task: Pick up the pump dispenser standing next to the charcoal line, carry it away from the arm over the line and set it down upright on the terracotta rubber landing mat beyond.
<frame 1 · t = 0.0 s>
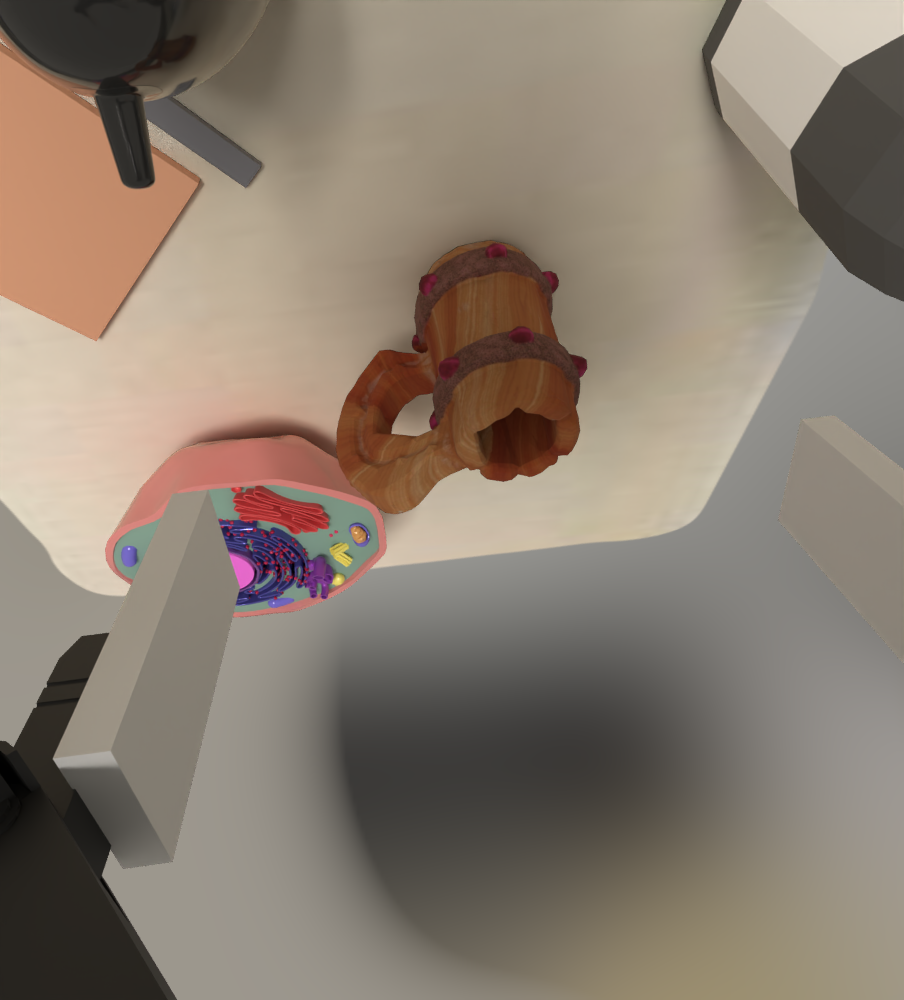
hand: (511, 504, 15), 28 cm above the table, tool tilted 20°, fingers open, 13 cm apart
wine bottle: (778, 34, 34), on the table
cell model: (259, 468, 55), on the table
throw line: (76, 46, 31), on the table
mug: (438, 295, 44), on the table
landing mat: (11, 187, 35), on the table
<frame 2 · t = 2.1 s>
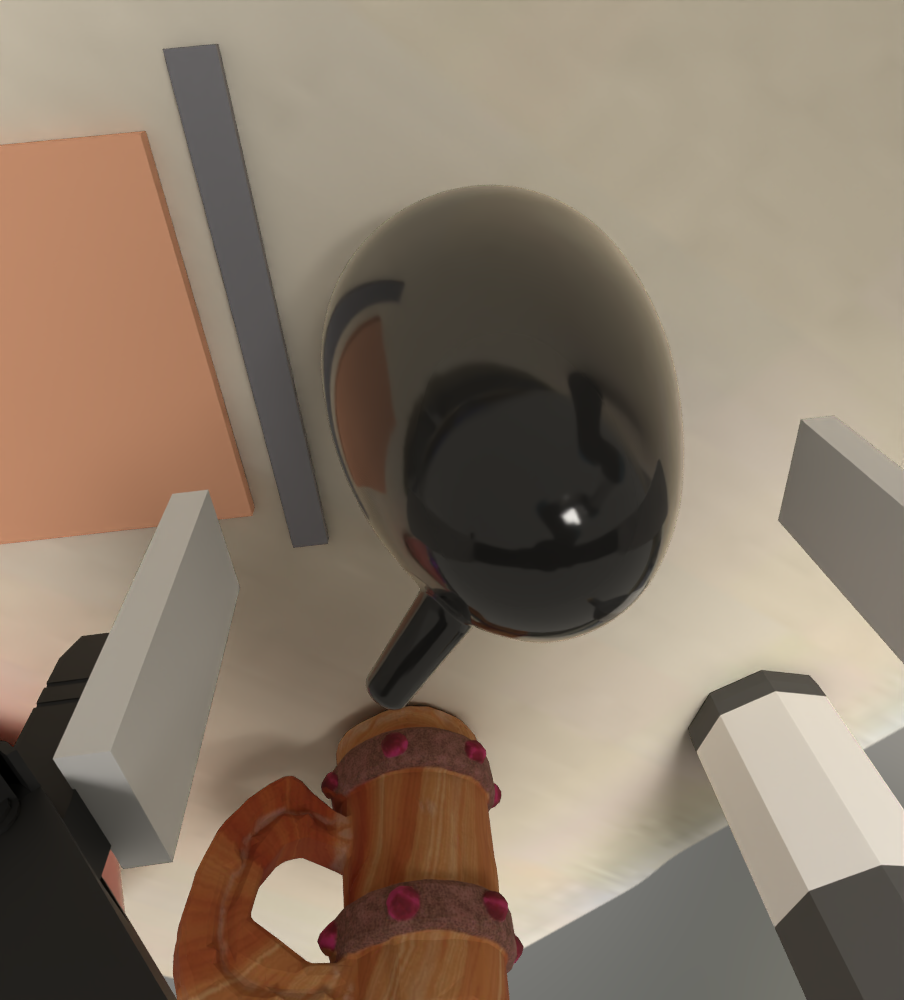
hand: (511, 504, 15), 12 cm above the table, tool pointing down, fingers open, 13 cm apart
wine bottle: (754, 713, 40), on the table
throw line: (263, 343, 25), on the table
mug: (366, 726, 37), on the table
landing mat: (27, 368, 25), on the table
pump dispenser: (468, 319, 25), on the table
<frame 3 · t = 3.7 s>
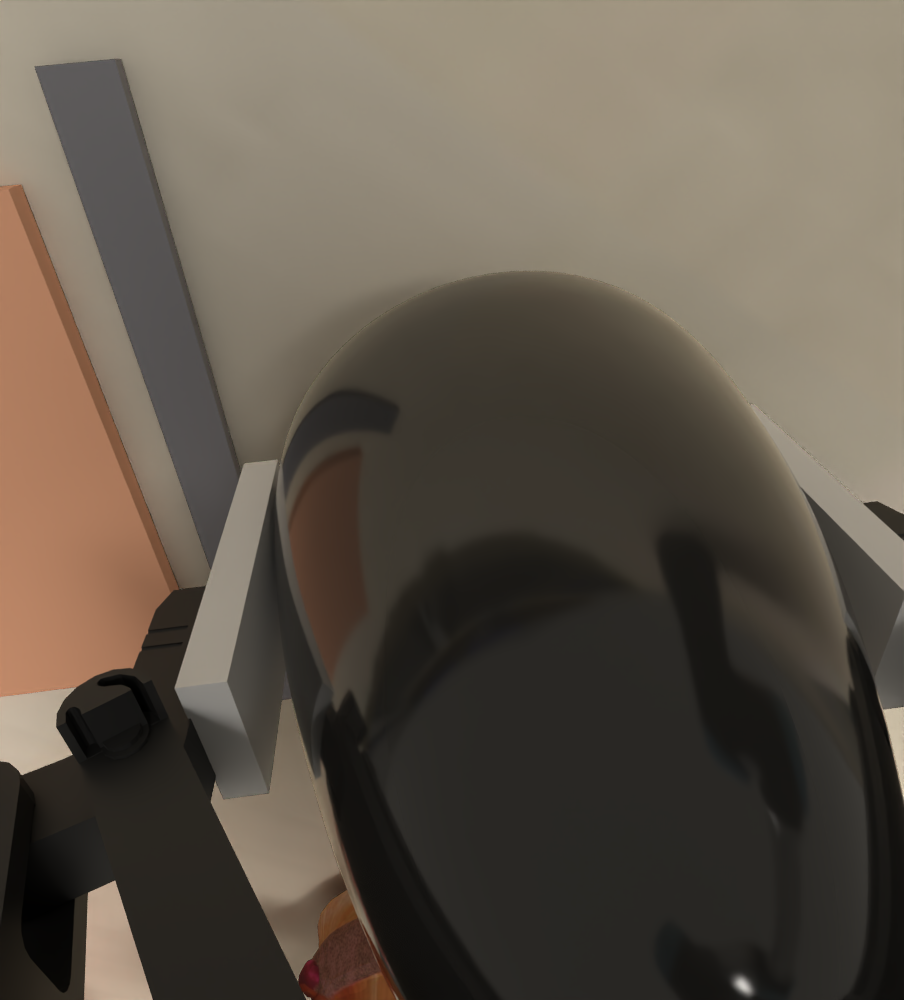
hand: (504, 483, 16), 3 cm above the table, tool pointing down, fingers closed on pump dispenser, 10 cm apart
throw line: (208, 461, 18), on the table
mug: (355, 883, 31), on the table
pump dispenser: (483, 426, 19), on the table, touching gripper
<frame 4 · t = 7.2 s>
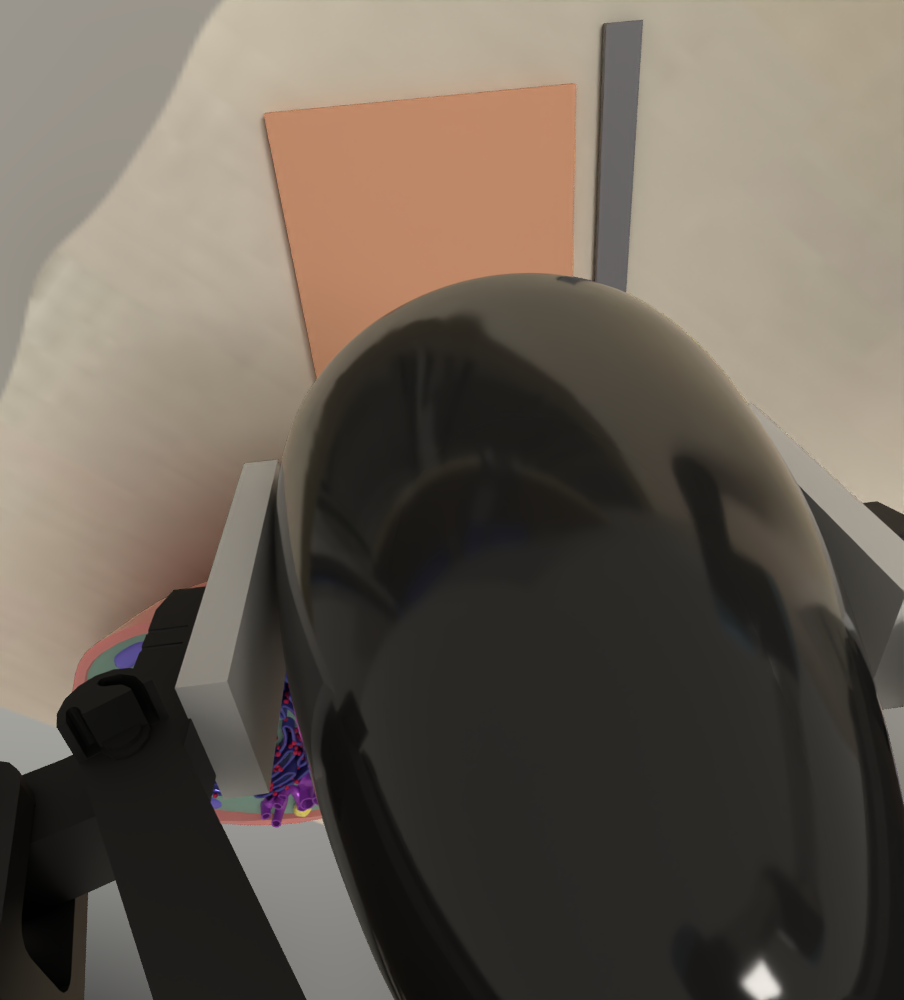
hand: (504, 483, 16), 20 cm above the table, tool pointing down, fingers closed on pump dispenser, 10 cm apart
cell model: (281, 627, 44), on the table
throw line: (610, 248, 33), on the table
landing mat: (435, 267, 33), on the table
pump dispenser: (483, 427, 19), point 17 cm above the table, touching gripper
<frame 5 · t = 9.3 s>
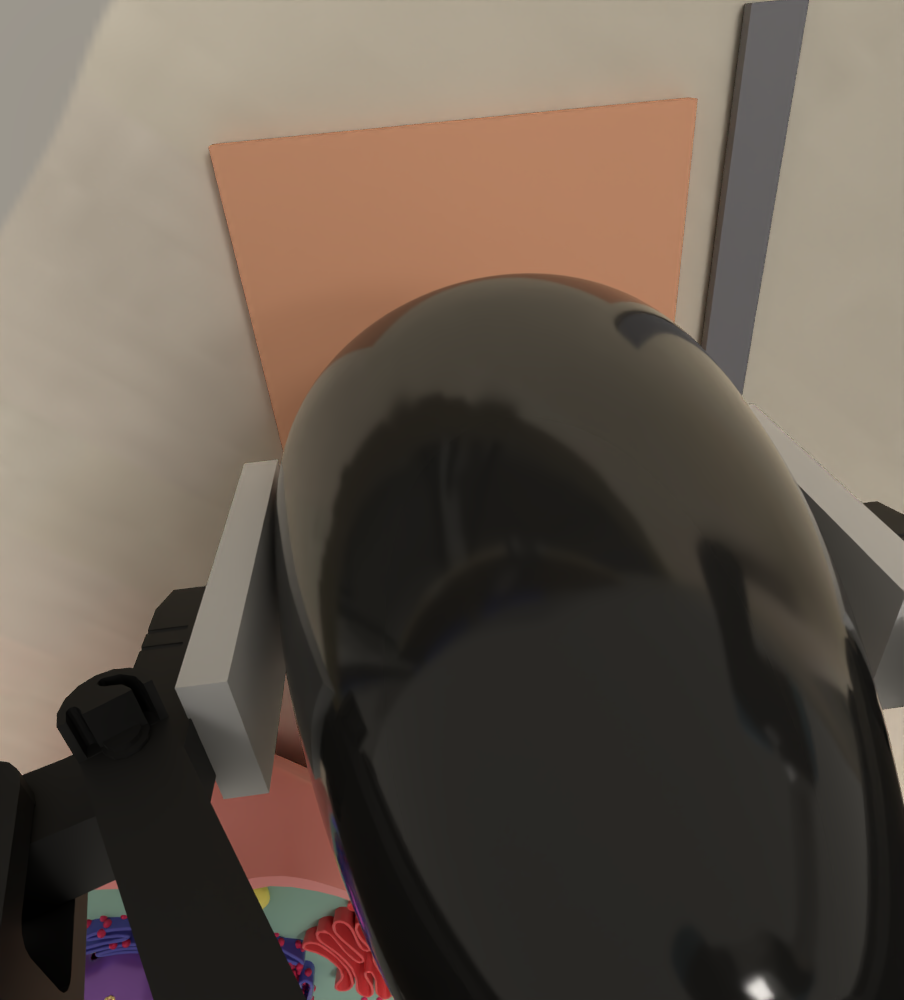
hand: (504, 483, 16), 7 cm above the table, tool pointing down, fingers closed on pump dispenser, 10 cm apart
cell model: (258, 797, 34), on the table
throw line: (724, 335, 23), on the table
landing mat: (470, 363, 22), on the table
pump dispenser: (483, 427, 19), point 4 cm above the table, touching gripper
when the fingers open (5 cm above the table, at t = 10.9 s): pump dispenser drops 1 cm, resting on landing mat.
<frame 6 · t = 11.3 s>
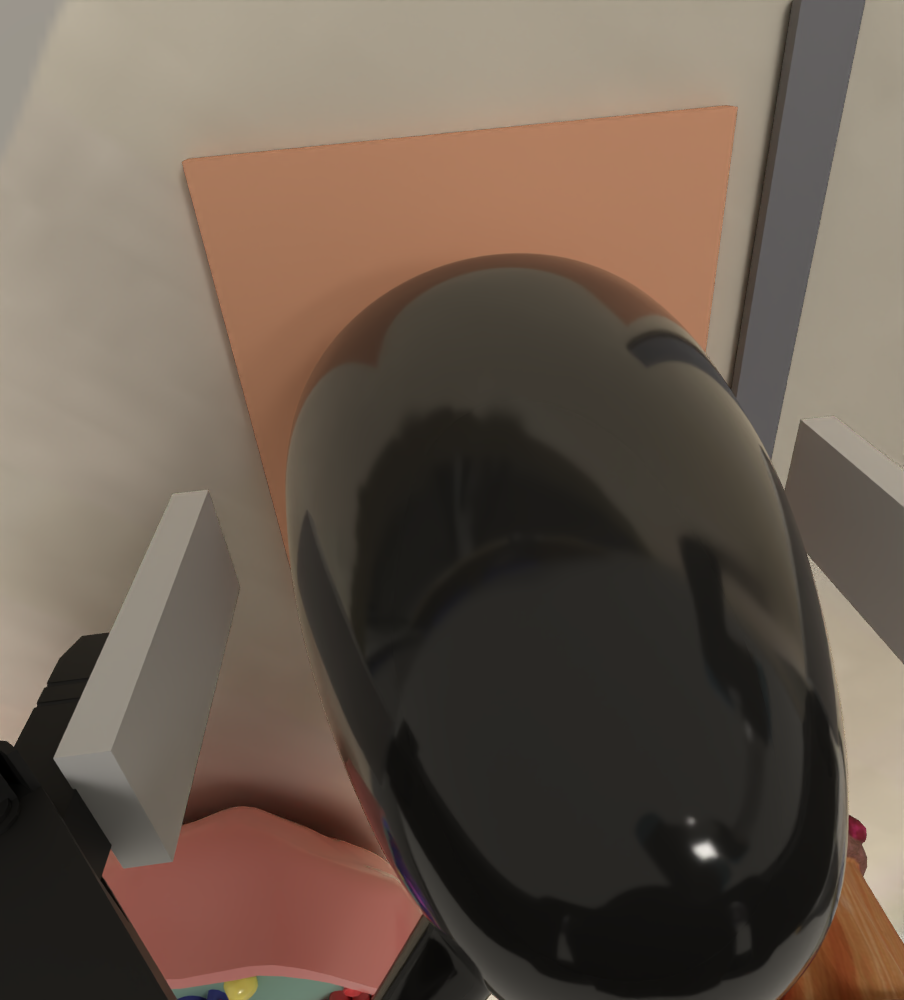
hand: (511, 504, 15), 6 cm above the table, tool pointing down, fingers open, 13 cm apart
cell model: (248, 851, 32), on the table
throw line: (758, 366, 21), on the table
mug: (689, 794, 33), on the table
landing mat: (478, 398, 20), on the table
pump dispenser: (479, 405, 20), resting on landing mat
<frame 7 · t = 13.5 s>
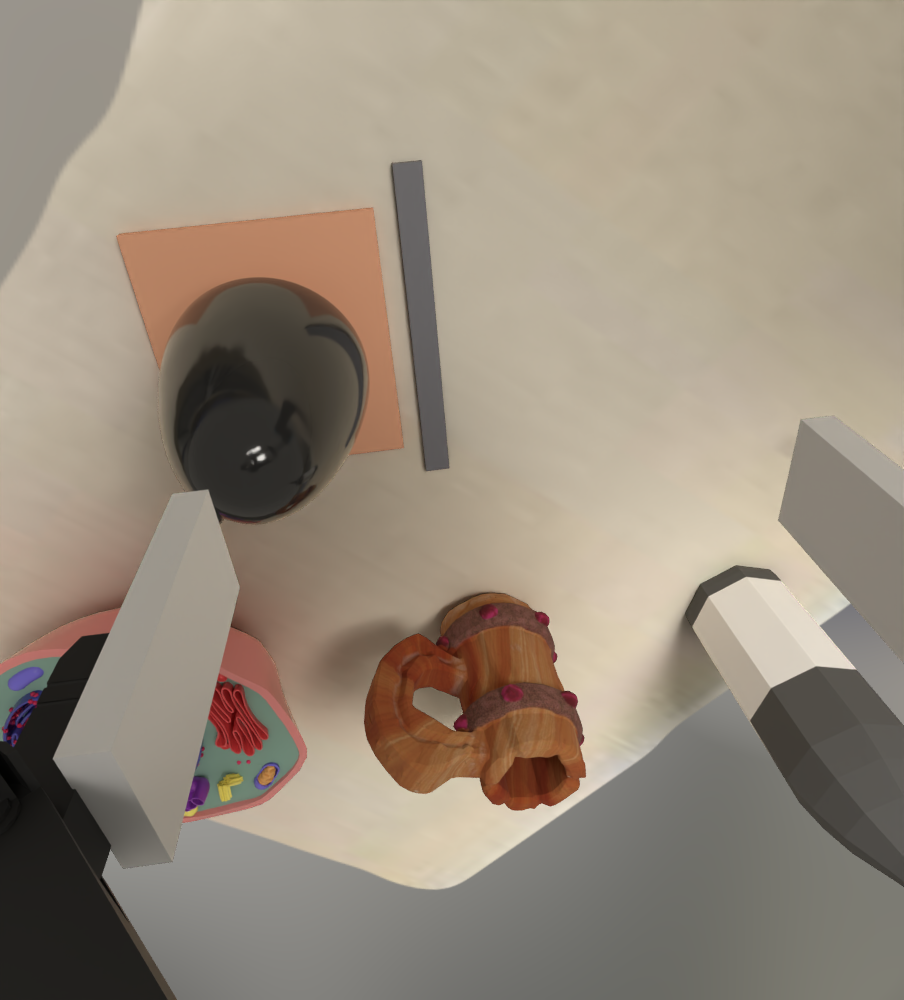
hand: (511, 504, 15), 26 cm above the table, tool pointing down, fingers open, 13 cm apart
wine bottle: (731, 601, 55), on the table
cell model: (175, 650, 50), on the table
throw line: (423, 332, 40), on the table
mug: (458, 612, 52), on the table
landing mat: (276, 349, 39), on the table
pump dispenser: (275, 352, 39), resting on landing mat
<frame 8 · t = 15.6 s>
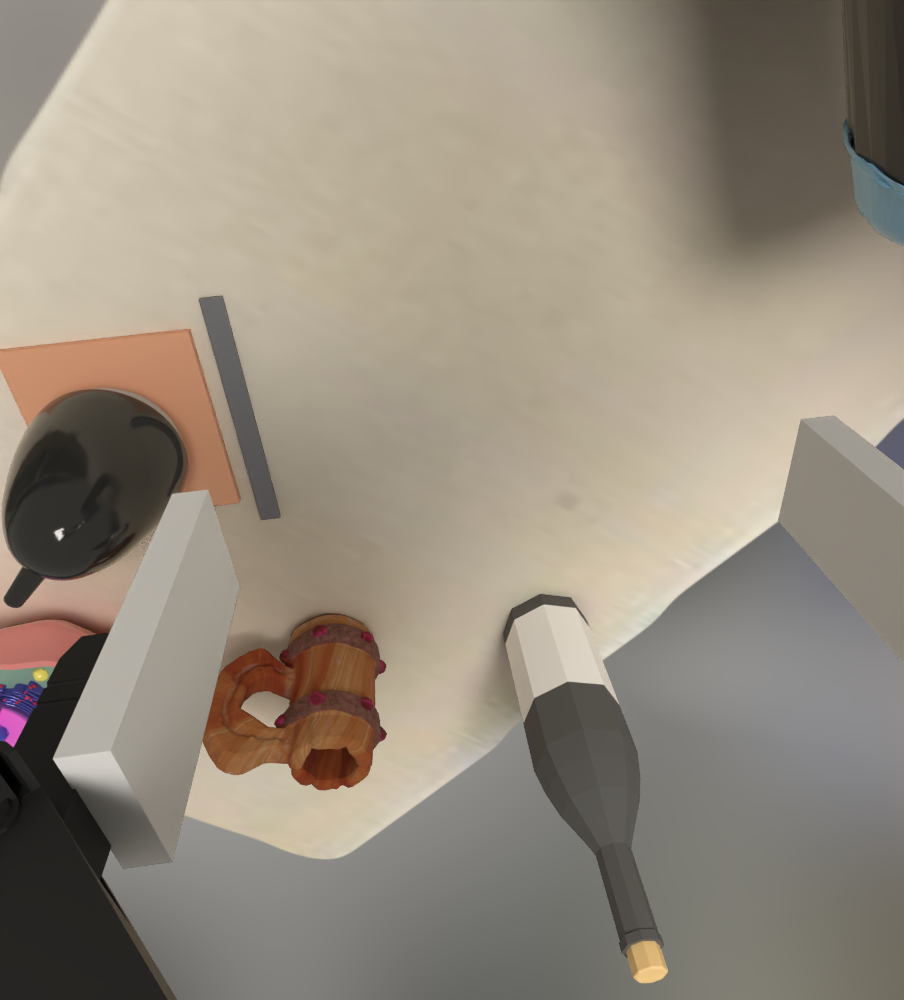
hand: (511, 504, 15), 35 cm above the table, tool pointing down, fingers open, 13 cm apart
wine bottle: (543, 623, 66), on the table
cell model: (76, 655, 62), on the table
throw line: (244, 417, 51), on the table
mug: (308, 629, 63), on the table
landing mat: (128, 430, 51), on the table
pump dispenser: (127, 432, 50), resting on landing mat
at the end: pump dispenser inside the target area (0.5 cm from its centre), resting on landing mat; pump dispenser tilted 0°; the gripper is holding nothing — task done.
